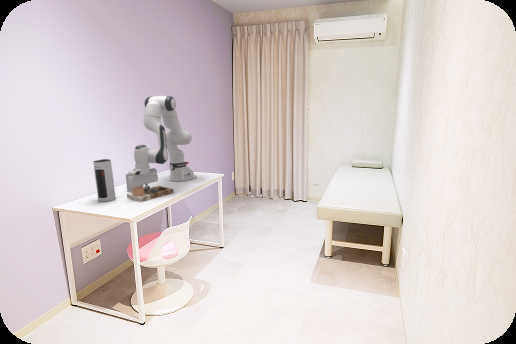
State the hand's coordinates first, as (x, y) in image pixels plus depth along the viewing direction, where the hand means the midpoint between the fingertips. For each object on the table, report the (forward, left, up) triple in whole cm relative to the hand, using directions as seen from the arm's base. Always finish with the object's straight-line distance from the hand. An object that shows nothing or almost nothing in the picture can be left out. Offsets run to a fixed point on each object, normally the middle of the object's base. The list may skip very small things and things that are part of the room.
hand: (144, 190), depth 214 cm
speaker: (+18, -15, -4) cm, 24 cm away
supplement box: (-5, -20, -4) cm, 21 cm away
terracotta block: (+5, 0, -2) cm, 5 cm away
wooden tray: (-4, 0, -4) cm, 6 cm away
